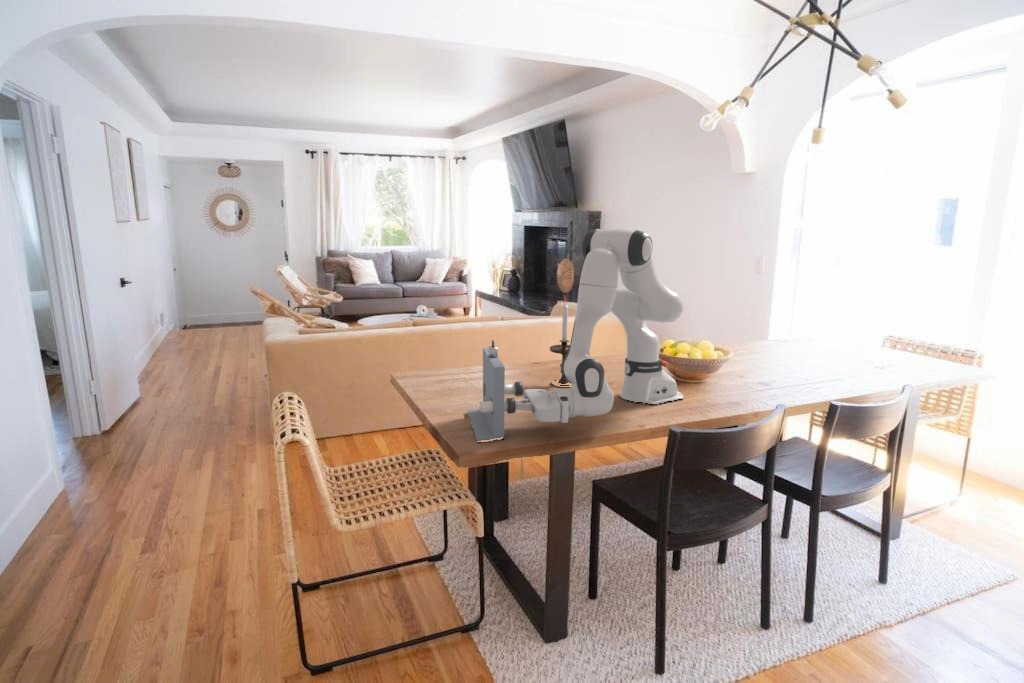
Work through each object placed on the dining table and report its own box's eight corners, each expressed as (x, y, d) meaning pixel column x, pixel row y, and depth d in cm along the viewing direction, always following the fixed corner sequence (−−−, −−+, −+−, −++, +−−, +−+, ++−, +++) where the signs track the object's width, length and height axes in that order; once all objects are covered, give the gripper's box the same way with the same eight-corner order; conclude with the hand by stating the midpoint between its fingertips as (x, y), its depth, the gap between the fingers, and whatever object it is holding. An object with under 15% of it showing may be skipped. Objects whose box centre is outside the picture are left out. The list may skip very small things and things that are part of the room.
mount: (491, 411, 193) (491, 346, 189) (504, 441, 168) (505, 367, 164) (467, 412, 192) (466, 347, 187) (477, 443, 167) (476, 368, 162)
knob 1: (512, 410, 175) (512, 395, 174) (515, 415, 170) (515, 400, 169) (479, 412, 173) (479, 397, 172) (481, 417, 168) (481, 402, 167)
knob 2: (520, 393, 191) (520, 379, 190) (522, 397, 186) (523, 383, 185) (489, 394, 189) (489, 381, 188) (491, 399, 185) (491, 385, 184)
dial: (496, 355, 178) (496, 339, 176) (498, 357, 175) (498, 341, 174) (487, 355, 177) (487, 339, 176) (489, 358, 174) (489, 341, 173)
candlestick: (546, 387, 221) (548, 295, 213) (551, 379, 231) (553, 291, 224) (575, 389, 218) (578, 296, 211) (579, 381, 229) (582, 292, 221)
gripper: (551, 383, 184) (508, 385, 181) (569, 403, 164) (521, 406, 161) (551, 402, 185) (508, 404, 182) (568, 425, 165) (520, 427, 163)
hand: (514, 405), depth 172 cm, fingers closed, pressing on knob 1
